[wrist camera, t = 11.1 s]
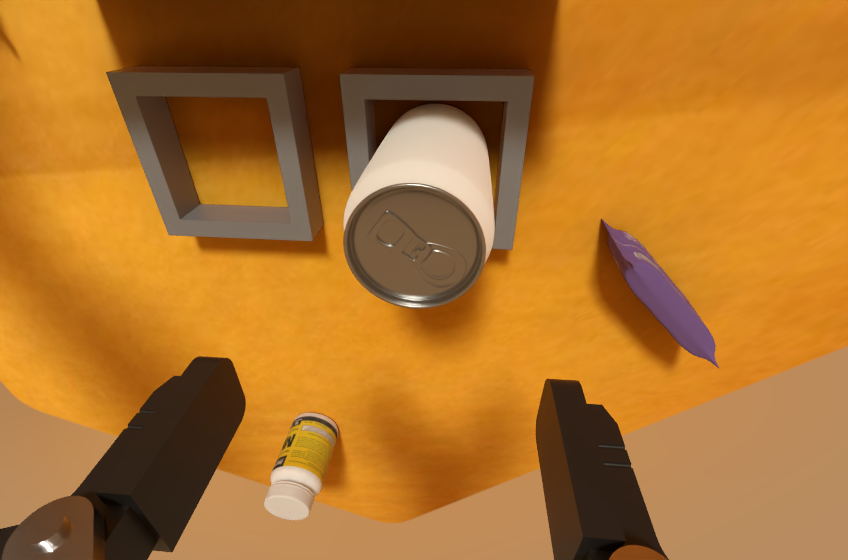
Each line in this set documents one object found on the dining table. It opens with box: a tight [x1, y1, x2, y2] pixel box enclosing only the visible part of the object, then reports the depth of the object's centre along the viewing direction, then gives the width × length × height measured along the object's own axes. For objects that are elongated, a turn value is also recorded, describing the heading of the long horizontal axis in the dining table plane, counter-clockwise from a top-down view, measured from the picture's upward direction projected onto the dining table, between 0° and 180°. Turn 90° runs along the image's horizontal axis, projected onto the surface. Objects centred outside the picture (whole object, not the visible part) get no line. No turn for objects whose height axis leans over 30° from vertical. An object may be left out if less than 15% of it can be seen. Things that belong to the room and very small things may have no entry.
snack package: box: [601, 219, 719, 368], centre depth 28 cm, size 12×2×5 cm, turn 45°
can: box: [343, 103, 495, 309], centre depth 21 cm, size 6×6×12 cm
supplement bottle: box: [264, 413, 338, 520], centre depth 40 cm, size 5×5×8 cm
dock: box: [106, 66, 535, 250], centre depth 22 cm, size 25×14×9 cm, turn 90°
